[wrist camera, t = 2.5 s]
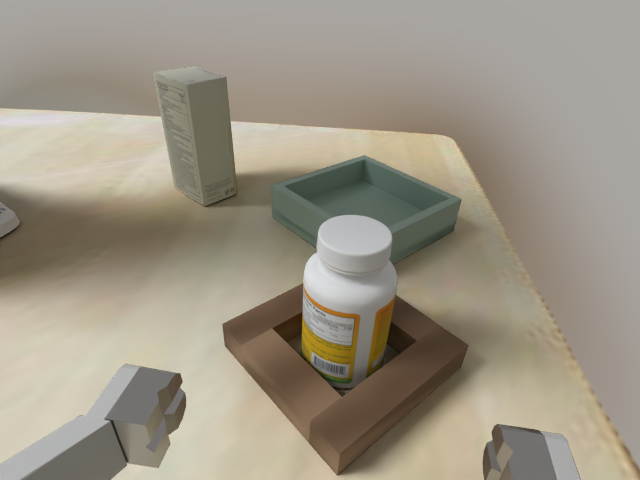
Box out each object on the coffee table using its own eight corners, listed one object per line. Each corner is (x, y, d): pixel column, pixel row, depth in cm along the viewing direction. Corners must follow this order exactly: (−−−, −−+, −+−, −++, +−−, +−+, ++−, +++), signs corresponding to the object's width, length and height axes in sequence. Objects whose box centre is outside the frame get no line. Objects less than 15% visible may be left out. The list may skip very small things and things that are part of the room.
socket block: (224, 345, 28) (222, 323, 27) (344, 281, 35) (346, 261, 34) (337, 475, 22) (339, 453, 21) (461, 366, 28) (468, 345, 27)
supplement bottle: (363, 320, 31) (380, 202, 26) (396, 379, 27) (425, 253, 21) (291, 335, 30) (293, 213, 24) (314, 400, 25) (323, 270, 20)
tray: (272, 216, 42) (271, 185, 41) (361, 183, 50) (364, 155, 48) (363, 281, 35) (367, 245, 33) (453, 230, 42) (461, 199, 40)
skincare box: (238, 195, 46) (230, 76, 39) (202, 208, 43) (187, 84, 36) (205, 175, 49) (192, 64, 43) (170, 187, 47) (151, 70, 40)
